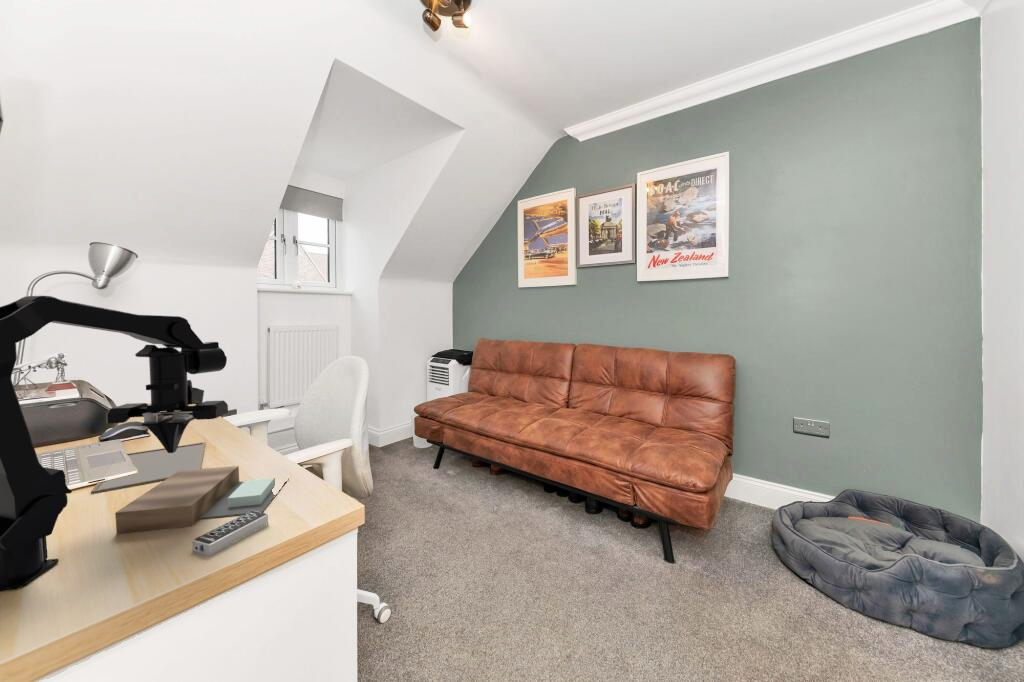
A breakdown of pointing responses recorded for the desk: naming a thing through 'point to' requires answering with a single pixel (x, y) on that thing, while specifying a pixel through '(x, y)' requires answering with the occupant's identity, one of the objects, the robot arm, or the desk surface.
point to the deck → (177, 500)
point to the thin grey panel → (157, 466)
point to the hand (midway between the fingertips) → (172, 452)
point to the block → (251, 492)
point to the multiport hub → (229, 533)
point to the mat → (223, 511)
